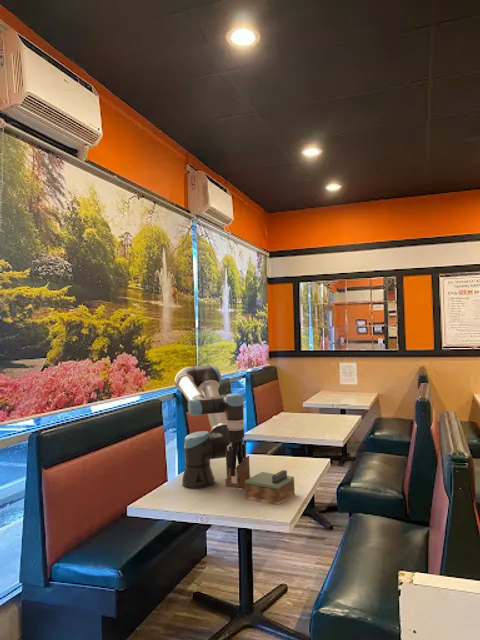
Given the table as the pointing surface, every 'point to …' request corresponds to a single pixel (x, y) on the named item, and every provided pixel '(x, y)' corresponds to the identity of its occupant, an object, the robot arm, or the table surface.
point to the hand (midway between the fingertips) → (237, 481)
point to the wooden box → (269, 493)
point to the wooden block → (244, 474)
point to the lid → (270, 479)
